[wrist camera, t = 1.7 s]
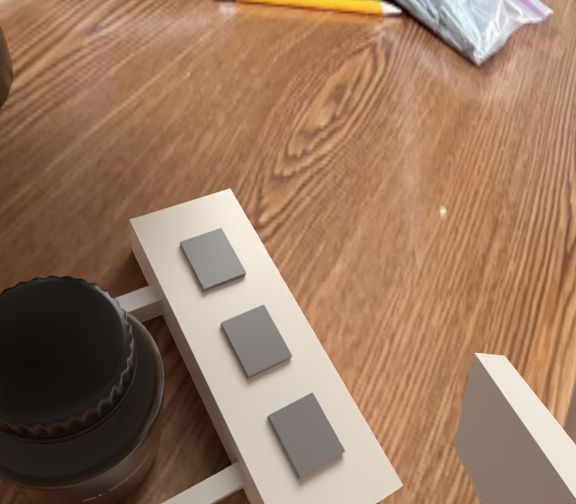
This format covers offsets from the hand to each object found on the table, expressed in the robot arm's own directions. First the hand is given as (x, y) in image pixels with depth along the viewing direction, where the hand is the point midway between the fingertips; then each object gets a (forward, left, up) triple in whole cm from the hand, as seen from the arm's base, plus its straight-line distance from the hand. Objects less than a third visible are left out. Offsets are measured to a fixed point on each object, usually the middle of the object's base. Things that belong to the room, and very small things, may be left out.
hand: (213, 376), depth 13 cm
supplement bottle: (-4, -4, -15) cm, 16 cm away
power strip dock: (-4, 0, -14) cm, 15 cm away
